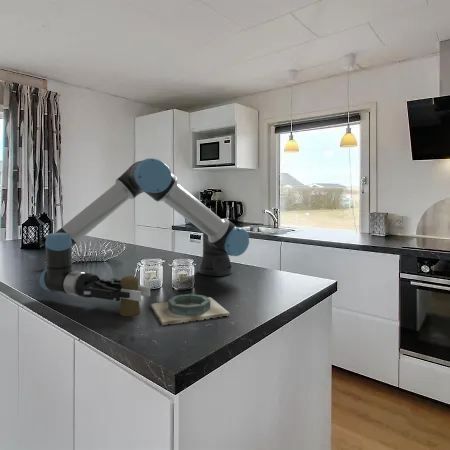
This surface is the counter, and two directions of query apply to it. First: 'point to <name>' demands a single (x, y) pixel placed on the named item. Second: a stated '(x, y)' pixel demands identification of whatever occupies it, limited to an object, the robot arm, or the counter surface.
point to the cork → (128, 305)
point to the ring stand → (188, 309)
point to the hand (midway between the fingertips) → (144, 293)
